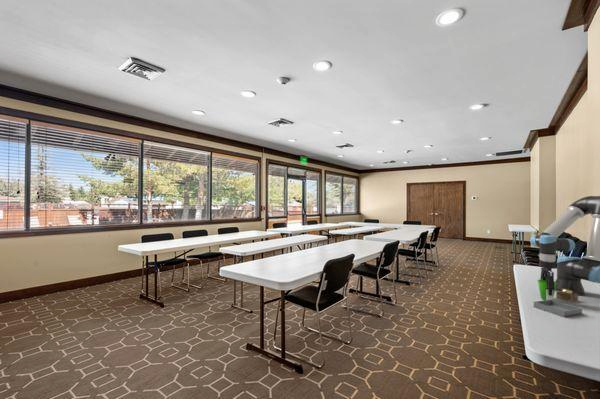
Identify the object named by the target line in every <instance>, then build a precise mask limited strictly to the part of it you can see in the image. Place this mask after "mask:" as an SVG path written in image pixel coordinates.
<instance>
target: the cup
mask: <svg viewBox="0 0 600 399" xmlns="http://www.w3.org/2000/svg"><path fill="white" fill-rule="evenodd" d="M537 282H538V290H539V293H540V294H539V295H540V298H541V301H543V300H546V297H547V289H546V288H547V282H546V280H540V279H537ZM556 284H557V283H556V282H555V281H554V288H556ZM555 292H556V290H553V297H554V296H555Z"/></svg>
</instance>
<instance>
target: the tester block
mask: <svg viewBox="0 0 600 399" xmlns="http://www.w3.org/2000/svg"><path fill="white" fill-rule="evenodd" d="M555 292H556V294H555V295H556V297H555V298H556V299H559V300H562V301H565V302H569V303H572V302H573V303H574V302H578V301H579V295H578V294H575V293H572V294H570V295H569V294H565V293H562V291H555Z"/></svg>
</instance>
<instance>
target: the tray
mask: <svg viewBox="0 0 600 399" xmlns="http://www.w3.org/2000/svg"><path fill="white" fill-rule="evenodd" d="M533 308H535V309H537V310H541V311H543V312H547V313H550V314H553V315H556V316H559V317H562V318H567V317H574V316H579V315H581V316H582V315H583V308H581V307H578V306H575V305H570V304H568V303H564V302H561V301H558V300H557V301H556V300H554V299H553V300H538V301H537V300H536V301H533Z"/></svg>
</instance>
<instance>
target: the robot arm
mask: <svg viewBox="0 0 600 399" xmlns="http://www.w3.org/2000/svg"><path fill="white" fill-rule="evenodd" d="M587 215H590V216H591V217H592V218H593V221H592V226H591V231H590V236H589V240H588V245H587V250H586V255H584V256H582V257H576V256H558V257H557V252H571V251H573V250H575V249H576V243H575V241H574V240H572V239H570V238H561V237H560V236H561V235H562V234H563V233H564V232H565V231H566V230H567V229H568V228H570V227H571V226H572V225H573V224H574V223H575V222H576V221H578V220H579V219H581V218H584V217H585V216H587ZM559 237H560V238H559ZM529 242H530V244H531V245H532V246H534V247H537V248H539V251H538V252H539V254H538V255H537V256H538V257H539V258H538V259H539V261H538V263H539V264H538V266H539V267H540V279H539V280H546V282H547V288H546V289H547V297H546V300H554V296H553V290H555V292H557V291H562V289H569V290H572V293H575V294H578V296H585V295H586V294H585V292H586V291H585V288H584V285H583V284H582V280H584V281H588V282H590V283H593V284H594V283H596V284H600V195H588V196H587V195H586V196H585V197H582V198H580V199H577V200H575V201H574V202H572V203H571V204H570V205H568V206H567V207H566V211H564V212H563V213H562V214H561V215H560V216H559V217H557V219H556V220H554V221H553V222H552V223H551V224H550V225H549V226H547V228H546V229H544V230H543V231H542V232H541V233H540V234H533V235H532V236H531V237H530V239H529ZM552 269H556V279H554V278H555V277H554V276H555V272H553V270H552ZM554 282H556V283H557V284H556V288H554Z"/></svg>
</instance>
